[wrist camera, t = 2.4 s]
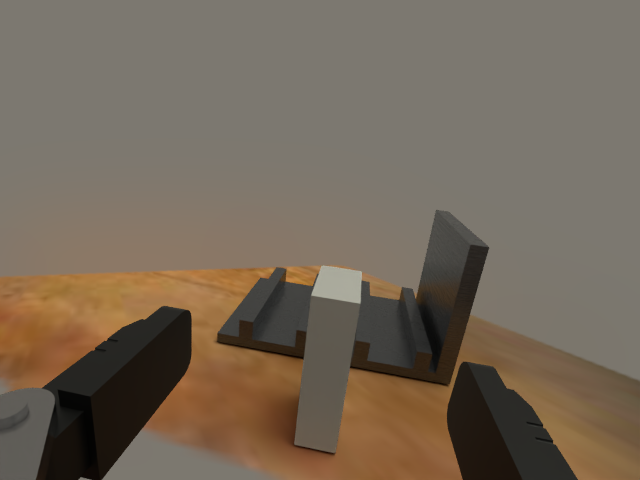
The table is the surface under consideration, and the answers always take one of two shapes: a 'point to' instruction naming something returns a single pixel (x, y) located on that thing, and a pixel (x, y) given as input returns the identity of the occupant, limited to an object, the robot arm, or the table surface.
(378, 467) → the table surface
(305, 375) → the light grey block
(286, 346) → the rack
